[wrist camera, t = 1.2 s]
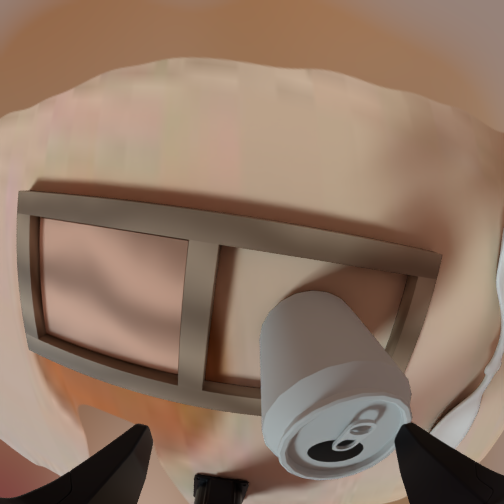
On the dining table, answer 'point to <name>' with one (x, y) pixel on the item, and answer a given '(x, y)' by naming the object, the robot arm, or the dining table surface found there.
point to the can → (327, 389)
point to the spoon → (465, 412)
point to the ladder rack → (169, 288)
